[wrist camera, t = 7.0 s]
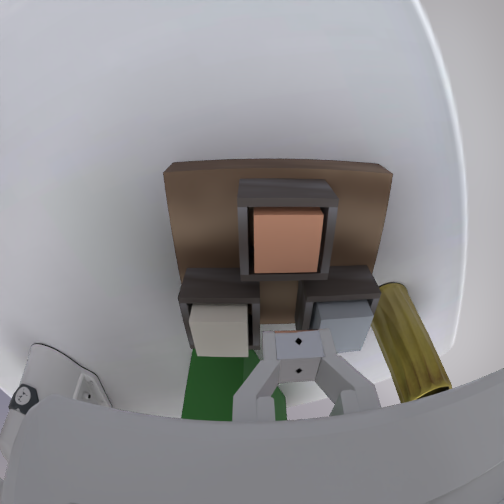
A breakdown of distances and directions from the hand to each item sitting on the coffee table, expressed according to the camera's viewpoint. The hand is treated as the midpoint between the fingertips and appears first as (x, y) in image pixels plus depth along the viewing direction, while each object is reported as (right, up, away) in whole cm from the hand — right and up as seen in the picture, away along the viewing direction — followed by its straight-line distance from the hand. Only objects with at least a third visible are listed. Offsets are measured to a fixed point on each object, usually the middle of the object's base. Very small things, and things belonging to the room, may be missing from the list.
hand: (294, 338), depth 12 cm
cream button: (-4, -1, +12) cm, 13 cm away
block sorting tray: (+1, +5, +15) cm, 16 cm away
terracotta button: (0, +6, +9) cm, 11 cm away
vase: (+14, -2, +19) cm, 24 cm away
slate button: (+6, -1, +12) cm, 14 cm away
